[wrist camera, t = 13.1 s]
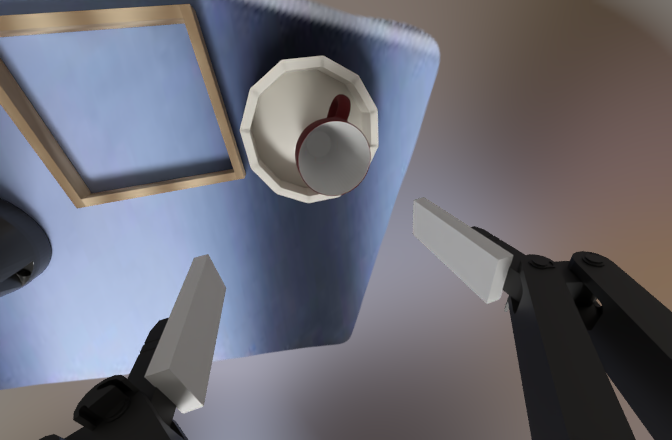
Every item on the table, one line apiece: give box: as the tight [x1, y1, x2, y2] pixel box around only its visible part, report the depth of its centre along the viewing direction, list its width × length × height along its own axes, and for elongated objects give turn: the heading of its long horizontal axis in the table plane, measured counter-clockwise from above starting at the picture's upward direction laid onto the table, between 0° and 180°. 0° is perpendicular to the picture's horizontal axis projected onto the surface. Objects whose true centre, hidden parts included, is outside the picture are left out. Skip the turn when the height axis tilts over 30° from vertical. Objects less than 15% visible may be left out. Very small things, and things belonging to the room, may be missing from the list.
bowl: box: [240, 56, 378, 203], centre depth 31 cm, size 17×17×4 cm
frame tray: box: [0, 4, 246, 208], centre depth 27 cm, size 20×18×2 cm
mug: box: [295, 94, 371, 196], centre depth 29 cm, size 11×8×10 cm
